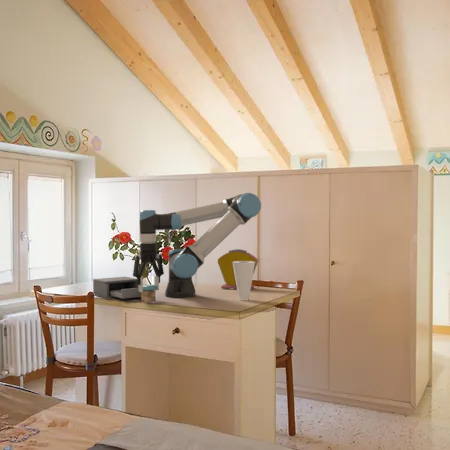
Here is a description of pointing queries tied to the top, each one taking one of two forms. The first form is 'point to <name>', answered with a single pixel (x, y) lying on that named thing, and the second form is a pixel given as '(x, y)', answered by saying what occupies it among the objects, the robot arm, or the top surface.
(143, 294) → the pedestal
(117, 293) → the tray
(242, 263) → the cup
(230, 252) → the yellow arched part
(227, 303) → the top surface
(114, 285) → the housing
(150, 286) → the disc
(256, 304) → the top surface
